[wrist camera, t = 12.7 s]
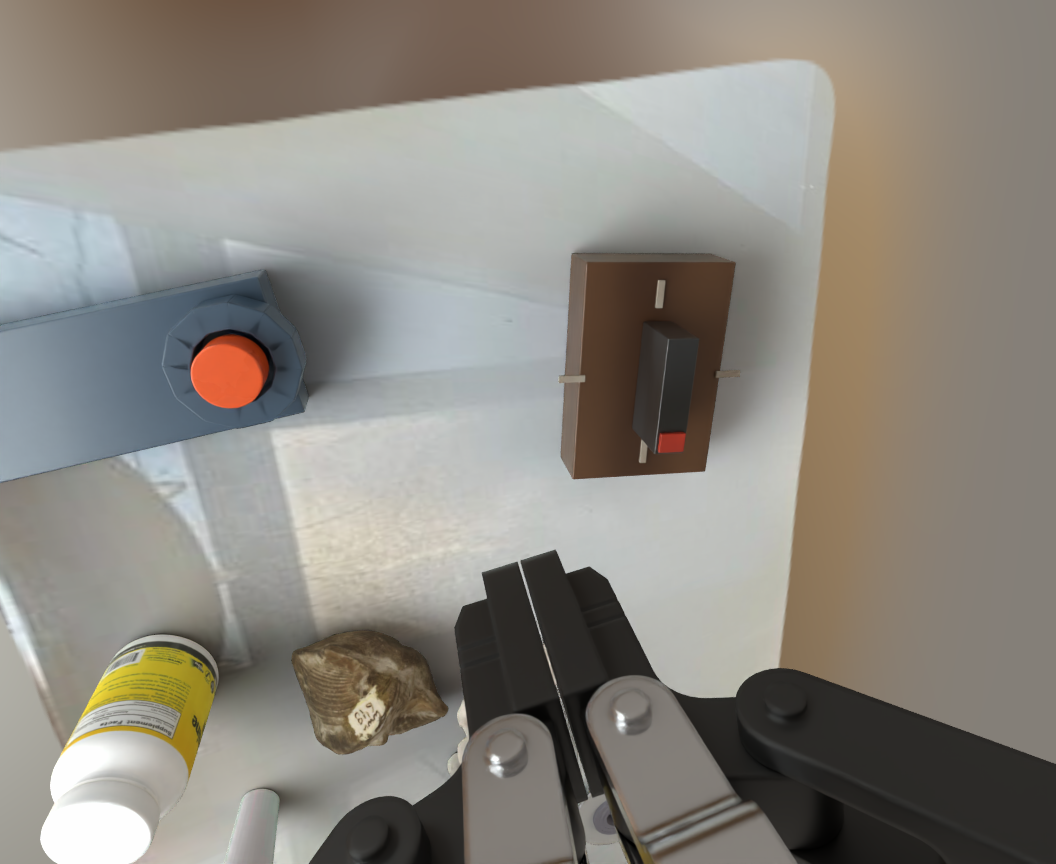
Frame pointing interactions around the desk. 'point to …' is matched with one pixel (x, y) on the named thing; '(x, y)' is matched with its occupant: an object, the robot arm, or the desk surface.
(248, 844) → the novelty light stick
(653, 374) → the red-tipped grey bar
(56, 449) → the button box
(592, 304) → the panel
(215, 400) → the button
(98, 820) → the pill bottle
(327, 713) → the fossilized seashell
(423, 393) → the desk surface
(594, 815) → the bracket
